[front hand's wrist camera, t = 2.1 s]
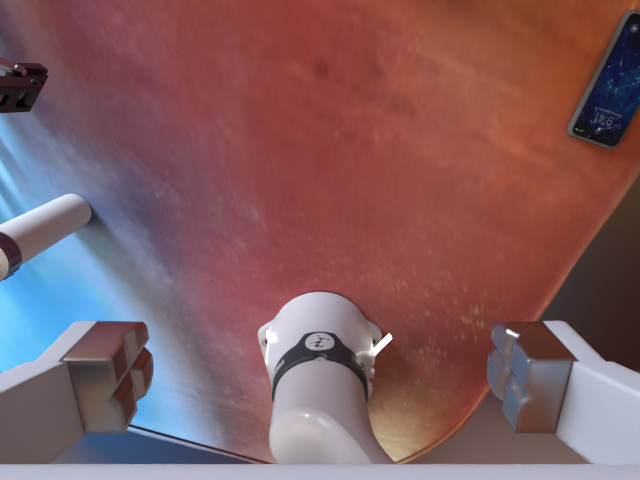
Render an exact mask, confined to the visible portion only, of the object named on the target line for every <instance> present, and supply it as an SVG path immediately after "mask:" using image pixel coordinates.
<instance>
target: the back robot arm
mask: <svg viewBox="0 0 640 480" xmlns="http://www.w3.org/2000/svg"><path fill="white" fill-rule="evenodd" d="M0 69H1V70H3V71H6V73H5V75H4V76H0V113H13V112H29V111H30V110H31V108H32V106H33V104H34V102H35V100H36V99H37V97H38V95H39V93H40V91H41V89H42V88H43V86H44V84H45V82H46V80H47V78H48V76H47V75H46V74H47V72H48V70H47V69H46V68H45V67H43V66H42V65H41V64H35V63H13V62H10V61H8V60H5V59H3V58H0Z"/></svg>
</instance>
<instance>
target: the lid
mask: <svg viewBox="0 0 640 480" xmlns="http://www.w3.org/2000/svg"><path fill="white" fill-rule="evenodd" d="M21 262H22V254H21V251H20V248H19V247H18V245H17V243H16V242H15V241H14V240H13V239H12V238H11V237H10V236H8V235H7V234H5V233H3V232H1V231H0V281H2V280H5V279H7V278H8V277H10V276H11V275H13V274H14V272H16V271H17V270H18V269H19V267H20V265H21Z"/></svg>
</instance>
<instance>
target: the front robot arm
mask: <svg viewBox="0 0 640 480" xmlns="http://www.w3.org/2000/svg"><path fill="white" fill-rule="evenodd" d="M148 339H149V335H148V330H147V326H146V325H145V324H144V323H143V322H125V321H78V322H74V323H73V324H72V325H71V326H70V327H69V328H68V329H67V330H66V331H65V332H64V333H63V334H62V335H61V336H60V337H59V338H58V339H57V340H56V341H55V342H54V343H53V344H52V345H51V346H50V347H49V348H48V349H47V350H46V351H45V352H44V353H43V354H42V355H41V356H40V357H39V358H38V359H36V360H35V361H34V362H25V363H23V364H21V365H19V366H16V367H14V368H12V369H10V370H7V371H5V372H3V373H1V374H0V480H640V374H639V373H637V372H635V371H633V370H630V369H628V368H626V367H624V366H621V365H619V364H617V363H615V362H606V361H605V360H604V359H602V357H600V356H599V355H598V354H597V353H596V352H595V351H594V350H593V349H592V348H591V347H590V346H589V345H588V344H587V343H586V342H585V341H584V340H583V339H582V338H581V337H580V336H579V335H578V334H577V333H576V332H575V331H574V330H573V329H572V328H571V327H570V326H569V325H568V324H567V323H566V322H563V321H535V322H498V323H495V324H494V327H493V329H492V334H491V339H492V341H493V343H494V344H495V346H496V347H495V348H494V349H493V350H492V351H491V352H490V353H489V354H488V359H487V378H488V382H489V385H490V388H491V390H492V392H493V393H494V395H495V396H496V397H498V398H499V399H501V400H502V401H504V403H503V409H502V410H503V412H504V414H505V415H506V417H507V419H508V421H509V423H510V424H511V426H512V428H513V430H514V432H515V433H547V434H555V436H556V437H558V438H559V439H560V440H562V441H563V442H564V443H565V444H567V445H568V446H569V447H570V448H572V449H573V450H574V451H576V452H577V453H578V454H579V455H581V456H582V457H583V458H584V459H586V460H587V461H588V462H590V463H591V464H396V463H395V462H394V461H393V460H392V459H391V458H390V457H389V456H388V454H387V453H386V452H385V451H384V450H383V448H382V447H381V445H380V444H379V443H378V441H377V439H376V437H375V435H374V433H373V430H372V426H371V422H370V418H369V414H368V409H367V400H368V398H371V396H372V392H373V384H372V382H369V380H370V378H374V374H375V370H374V369H373V367H374V364H375V360H376V356H377V353H378V352H379V351H380V350H381V349H382V348H383V347H384V346H385V345H386V344H387V343H388V342H389V341H390V340H391V339H392V338H391V335H390V334H388V335H387V336H386V337H385V338H384V339H383V340H382V341H381V339H382V331H381V329H380V328H379V327H378V326H377V325H375V324H373V323H372V322H370V321H368V320H367V319H366V318H365V317H364V316H363V314H362V313H361V311H360V310H359V309H358V308H357V307H356V306H355V305H354V304H353V303H352V302H351V301H349V300H348V299H346V298H344V297H342V296H339V295H337V294H333V293H328V292H312V293H307V294H303V295H301V296H298V297H296V298H294V299H292V300H291V301H289V302H288V303H287V304H286V305H285V306H284V307H283V308H282V309H281V310H280V311H279V313H278V314H277V316H276V317H275V318H274V319H273V320H272V321H270V322H268V323H267V324H265V325H263V326H262V327H261V328H260V329H259V331H258V339H259V343H260V346H261V349H262V353H263V356H264V360H265V363H266V367H267V370H268V374H269V377H270V380H271V384H272V399H273V403H274V404H273V411H272V419H271V426H270V433H269V444H270V449H271V452H272V455H273V457H274V459H275V461H276V463H277V464H49V463H50V462H52V461H53V460H54V459H56V458H57V457H58V456H59V455H61V454H62V453H63V452H65V451H66V450H67V449H68V448H70V447H71V446H72V445H74V444H75V443H76V442H77V441H79V440H80V439H81V438H82V437H84V436H85V435H84V434H92V433H125V432H126V430H127V428H128V426H129V424H130V423H131V421H132V419H133V417H134V415H135V414H136V412H137V410H138V409H137V403H136V401H138V400H139V399H141V398H142V397H144V396H145V395H146V394H147V392H148V390H149V388H150V385H151V381H152V377H153V358H152V354H151V353H150V352H149V351H148V350H147V349H146V348H145V347H144V346H145V344H146V343H147V341H148ZM265 340H268V342H266V341H265ZM372 340H375V341H374V342H372Z"/></svg>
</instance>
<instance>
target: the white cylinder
mask: <svg viewBox="0 0 640 480" xmlns="http://www.w3.org/2000/svg"><path fill="white" fill-rule="evenodd" d="M90 218H91V209H90V206H89V204H88V203H87V202H86V201H85V200H84V199H83V198H82V197H80V196H78V195H75V194H66V195H64V196H62V197H59V198H57V199H55V200H53V201H51V202H49V203H46V204H44V205H42V206H40V207H38V208H36V209H33V210H31V211H29V212H27V213H25V214H23V215H20V216H18V217H16V218H14V219H12V220H10V221H8V222H5V223H3V224H1V225H0V231H1V232H3V233H5V234H7V235H8V236H10V237H11V238H12V239H13V240H14V241H15V242H16V243H17V245H18V247H19V248H20V251H21V254H22V262H21V265H22V264H24V263H25V262H27V261H28V260H30V259H32V258H33V257H35V256H36V255H38V254H39V253H41V252H43V251H44V250H46V249H47V248H49V247H51V246H52V245H54V244H55V243H57V242H59V241H60V240H62V239H63V238H65V237H66V236H68V235H70V234H71V233H73V232H74V231H76V230H78V229H79V228H81V227H82V226H84V225H86V224H87V223H88V222H89V220H90Z"/></svg>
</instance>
